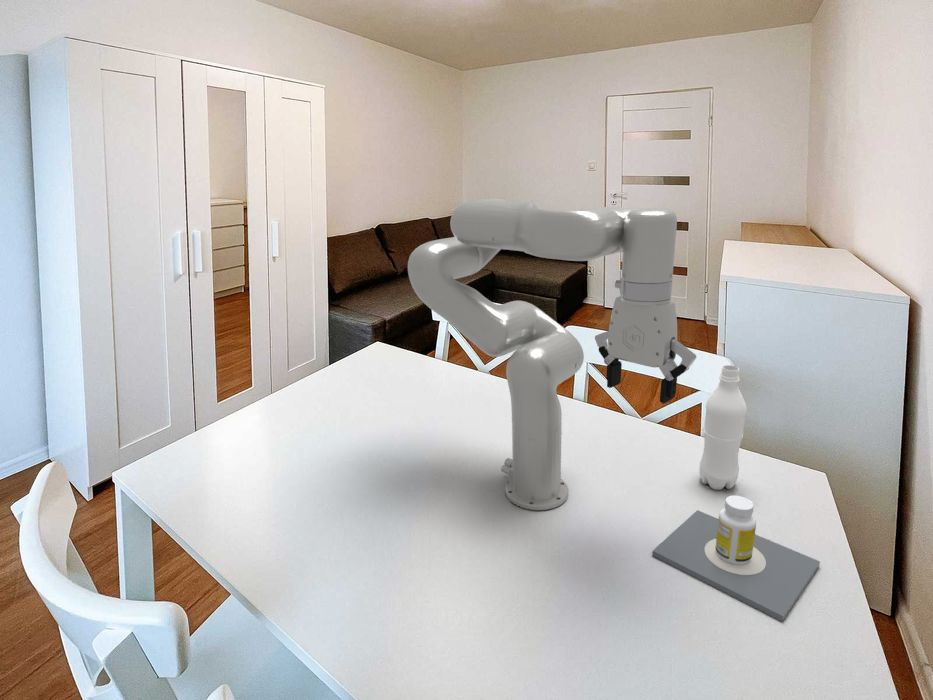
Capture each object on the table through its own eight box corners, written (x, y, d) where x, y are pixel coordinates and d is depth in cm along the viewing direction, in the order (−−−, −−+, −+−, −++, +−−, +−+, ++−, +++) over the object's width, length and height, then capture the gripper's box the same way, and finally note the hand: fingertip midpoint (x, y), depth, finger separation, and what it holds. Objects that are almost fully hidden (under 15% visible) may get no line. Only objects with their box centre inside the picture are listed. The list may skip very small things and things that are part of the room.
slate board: (652, 555, 91) (652, 550, 91) (696, 514, 101) (697, 509, 101) (782, 621, 77) (783, 615, 77) (819, 566, 87) (820, 560, 87)
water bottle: (741, 494, 107) (756, 375, 99) (702, 491, 108) (714, 373, 101) (731, 475, 114) (745, 362, 106) (695, 473, 115) (706, 361, 107)
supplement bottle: (753, 550, 90) (760, 498, 87) (749, 570, 85) (757, 516, 82) (717, 539, 93) (723, 489, 90) (712, 558, 88) (718, 506, 85)
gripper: (585, 288, 89) (582, 386, 94) (687, 303, 76) (677, 414, 82) (611, 281, 93) (607, 374, 99) (711, 294, 81) (701, 400, 86)
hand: (639, 392), depth 90 cm, fingers open, 9 cm apart
